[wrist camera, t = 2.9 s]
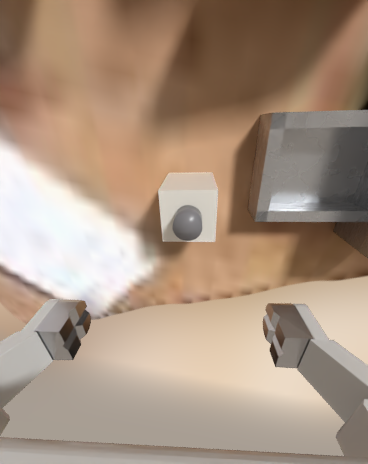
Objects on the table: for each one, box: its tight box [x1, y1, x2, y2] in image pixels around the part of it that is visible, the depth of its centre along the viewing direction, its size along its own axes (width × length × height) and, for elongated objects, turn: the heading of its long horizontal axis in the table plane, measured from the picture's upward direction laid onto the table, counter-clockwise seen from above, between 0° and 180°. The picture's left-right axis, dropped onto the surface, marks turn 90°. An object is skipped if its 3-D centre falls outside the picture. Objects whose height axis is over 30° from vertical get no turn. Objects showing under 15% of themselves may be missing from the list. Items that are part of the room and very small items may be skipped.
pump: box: [158, 172, 218, 242], centre depth 20 cm, size 5×5×9 cm
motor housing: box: [248, 110, 368, 258], centre depth 17 cm, size 16×16×9 cm
